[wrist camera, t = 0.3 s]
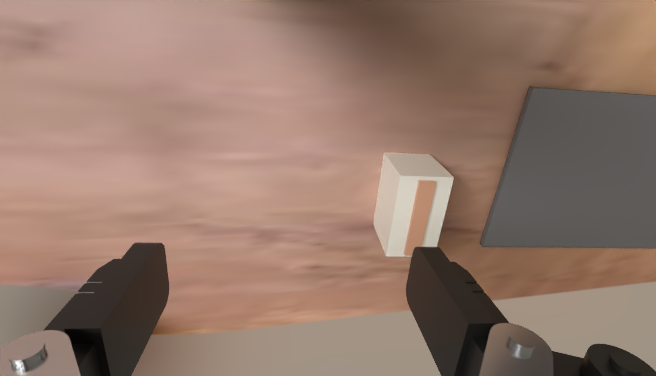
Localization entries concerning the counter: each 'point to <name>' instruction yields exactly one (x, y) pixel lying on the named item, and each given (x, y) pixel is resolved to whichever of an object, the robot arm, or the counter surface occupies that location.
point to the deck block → (410, 202)
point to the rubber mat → (578, 173)
